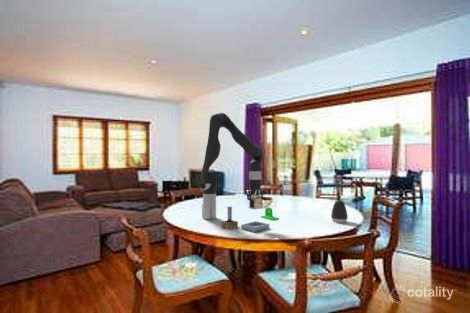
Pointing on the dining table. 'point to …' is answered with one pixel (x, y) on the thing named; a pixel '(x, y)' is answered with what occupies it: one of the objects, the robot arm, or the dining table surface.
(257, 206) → the block
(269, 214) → the mechanical part
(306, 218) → the dining table surface
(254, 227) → the tray
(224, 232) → the dining table surface
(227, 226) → the wooden square socket
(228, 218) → the rod
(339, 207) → the dark grey domed speaker
